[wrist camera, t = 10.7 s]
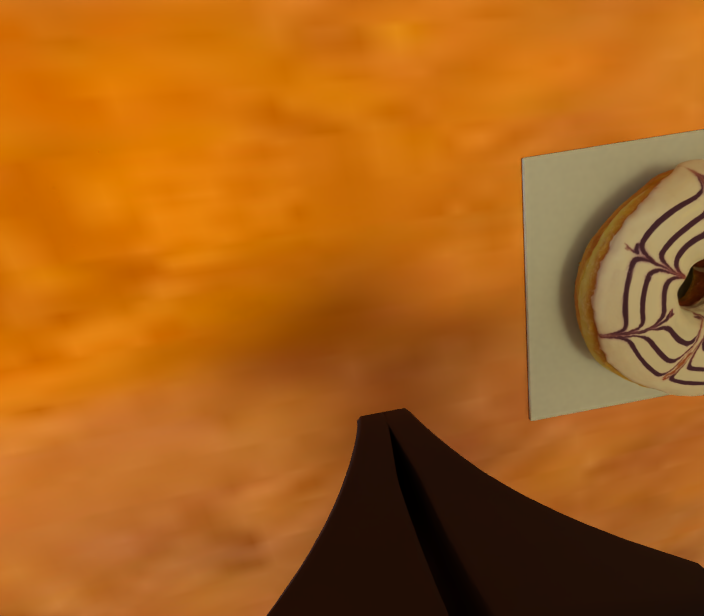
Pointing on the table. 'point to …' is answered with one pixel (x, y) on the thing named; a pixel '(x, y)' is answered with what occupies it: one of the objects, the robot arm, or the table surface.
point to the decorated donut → (649, 285)
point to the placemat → (567, 251)
